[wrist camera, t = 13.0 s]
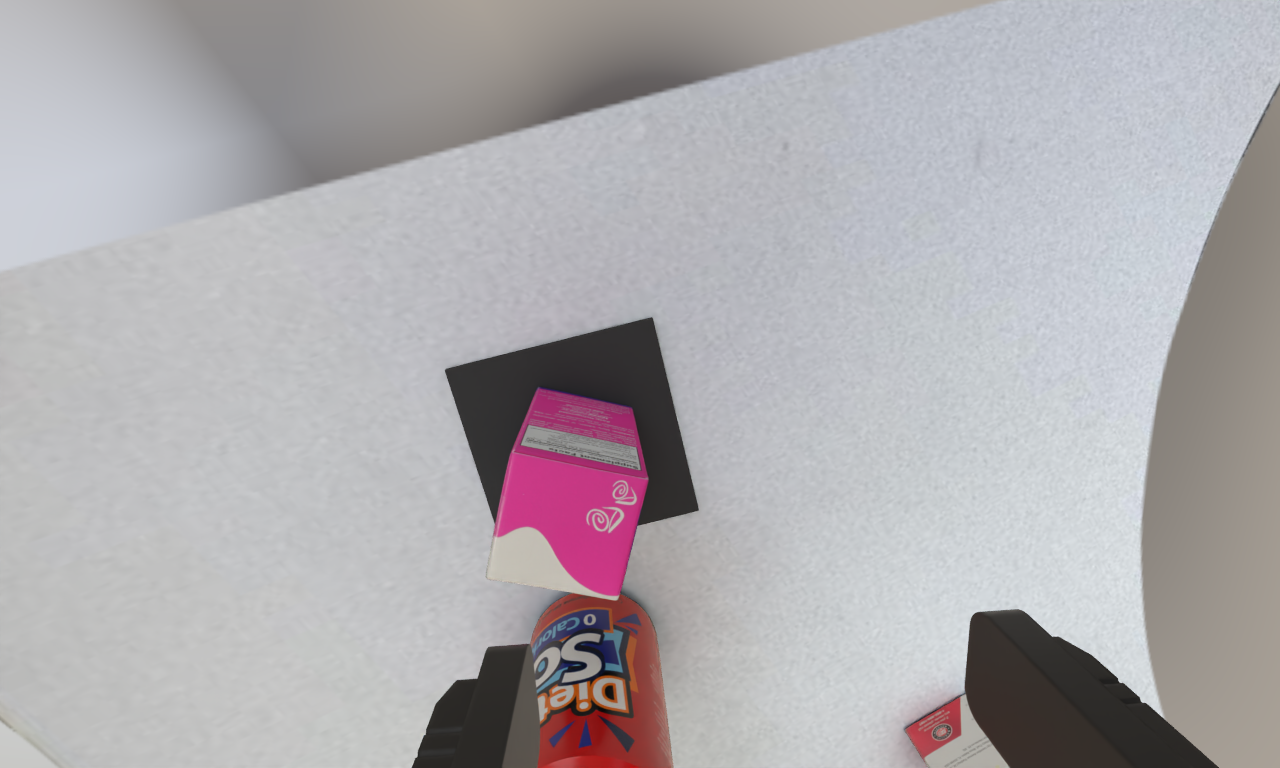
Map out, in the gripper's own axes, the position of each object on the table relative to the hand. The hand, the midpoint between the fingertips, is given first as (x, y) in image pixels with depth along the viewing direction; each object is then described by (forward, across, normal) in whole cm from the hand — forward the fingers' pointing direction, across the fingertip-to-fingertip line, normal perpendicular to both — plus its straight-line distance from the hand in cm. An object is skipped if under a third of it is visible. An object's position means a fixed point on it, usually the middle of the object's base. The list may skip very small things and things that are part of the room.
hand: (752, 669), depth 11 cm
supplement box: (+25, +5, +4) cm, 25 cm away
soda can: (+25, +5, +17) cm, 30 cm away
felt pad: (+25, +5, +4) cm, 26 cm away
